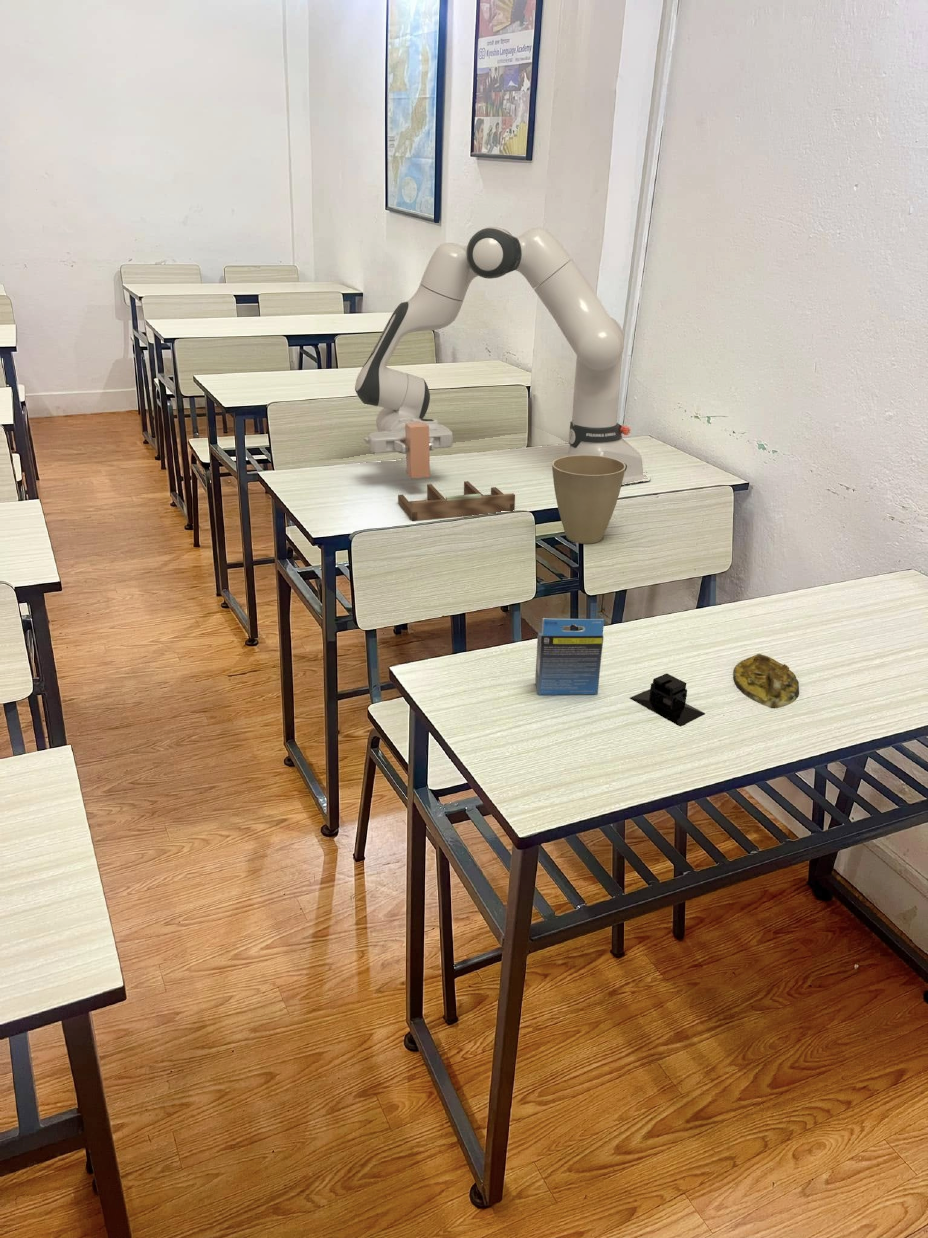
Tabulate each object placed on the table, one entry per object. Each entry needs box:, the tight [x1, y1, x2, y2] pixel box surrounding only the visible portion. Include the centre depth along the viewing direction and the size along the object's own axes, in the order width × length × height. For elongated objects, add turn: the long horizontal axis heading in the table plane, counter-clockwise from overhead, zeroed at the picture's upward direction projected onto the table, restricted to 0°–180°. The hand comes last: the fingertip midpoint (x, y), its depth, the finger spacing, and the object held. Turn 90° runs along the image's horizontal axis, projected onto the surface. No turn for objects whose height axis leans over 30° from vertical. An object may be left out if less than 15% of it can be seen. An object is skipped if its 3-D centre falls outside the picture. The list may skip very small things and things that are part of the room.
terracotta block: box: [405, 422, 431, 479], centre depth 210 cm, size 4×4×12 cm
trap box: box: [397, 480, 516, 522], centre depth 205 cm, size 24×13×5 cm, turn 108°
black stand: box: [629, 673, 706, 728], centre depth 126 cm, size 12×7×5 cm, turn 37°
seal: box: [732, 653, 800, 709], centre depth 133 cm, size 9×5×15 cm
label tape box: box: [534, 617, 605, 696], centre depth 128 cm, size 9×4×12 cm, turn 92°
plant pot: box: [551, 455, 626, 545], centre depth 185 cm, size 15×15×16 cm
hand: (418, 448), depth 209 cm, fingers closed on terracotta block, 4 cm apart
